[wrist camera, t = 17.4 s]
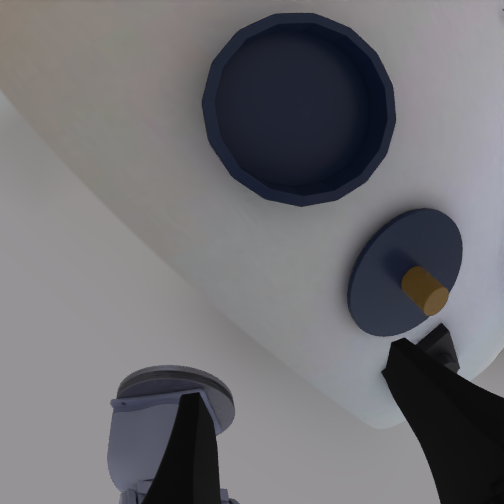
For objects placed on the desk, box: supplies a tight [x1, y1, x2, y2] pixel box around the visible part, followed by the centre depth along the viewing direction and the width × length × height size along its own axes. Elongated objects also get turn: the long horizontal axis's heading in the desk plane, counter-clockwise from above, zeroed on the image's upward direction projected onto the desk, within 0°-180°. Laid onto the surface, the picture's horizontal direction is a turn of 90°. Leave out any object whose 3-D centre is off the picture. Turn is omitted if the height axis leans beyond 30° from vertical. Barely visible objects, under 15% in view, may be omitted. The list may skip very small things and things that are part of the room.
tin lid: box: [347, 208, 463, 337], centre depth 21 cm, size 11×11×4 cm
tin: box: [202, 13, 396, 207], centre depth 15 cm, size 10×10×2 cm
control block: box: [381, 323, 460, 378], centre depth 28 cm, size 10×8×3 cm
